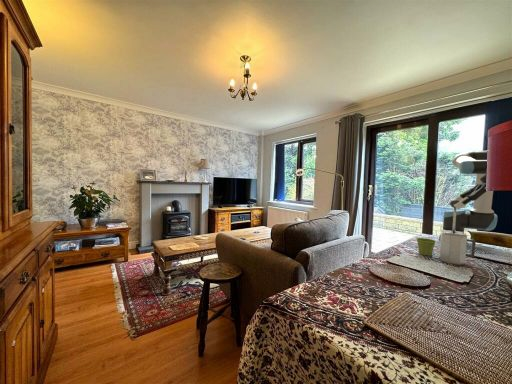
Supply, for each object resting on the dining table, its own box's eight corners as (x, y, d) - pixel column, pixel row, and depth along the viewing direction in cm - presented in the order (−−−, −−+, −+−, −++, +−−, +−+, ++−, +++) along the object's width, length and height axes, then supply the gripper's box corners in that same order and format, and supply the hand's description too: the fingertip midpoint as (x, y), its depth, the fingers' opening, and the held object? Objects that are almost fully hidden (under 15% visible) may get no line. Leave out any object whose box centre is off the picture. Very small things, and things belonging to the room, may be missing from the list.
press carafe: (437, 256, 126) (439, 229, 125) (470, 261, 118) (472, 232, 118) (440, 262, 117) (442, 232, 116) (476, 267, 110) (478, 236, 109)
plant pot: (412, 252, 132) (412, 238, 131) (421, 250, 136) (421, 237, 135) (429, 257, 123) (430, 242, 123) (438, 255, 127) (439, 241, 127)
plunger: (443, 235, 123) (445, 198, 122) (460, 237, 119) (463, 199, 118) (445, 238, 117) (448, 199, 116) (463, 240, 113) (466, 200, 112)
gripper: (479, 174, 120) (442, 199, 129) (497, 172, 99) (452, 202, 108) (492, 184, 118) (453, 209, 127) (513, 184, 97) (465, 214, 106)
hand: (452, 206), depth 117 cm, fingers open, 13 cm apart
